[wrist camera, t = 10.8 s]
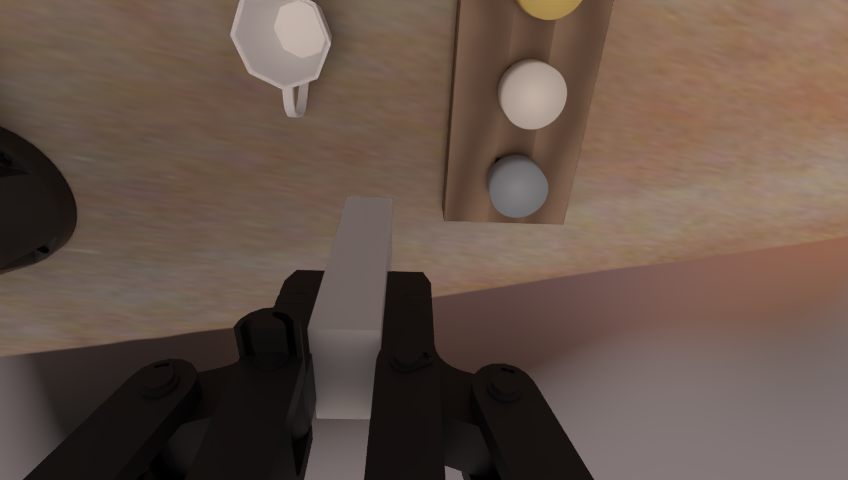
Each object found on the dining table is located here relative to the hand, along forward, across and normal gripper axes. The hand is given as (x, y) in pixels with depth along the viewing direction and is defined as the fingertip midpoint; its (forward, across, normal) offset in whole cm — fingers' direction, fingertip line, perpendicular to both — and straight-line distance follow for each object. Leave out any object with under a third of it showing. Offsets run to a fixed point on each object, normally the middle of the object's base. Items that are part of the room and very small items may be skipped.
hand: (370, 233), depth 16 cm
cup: (+30, -8, +2) cm, 31 cm away
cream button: (+28, +11, 0) cm, 30 cm away
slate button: (+28, +11, -8) cm, 31 cm away
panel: (+29, +11, 0) cm, 31 cm away
